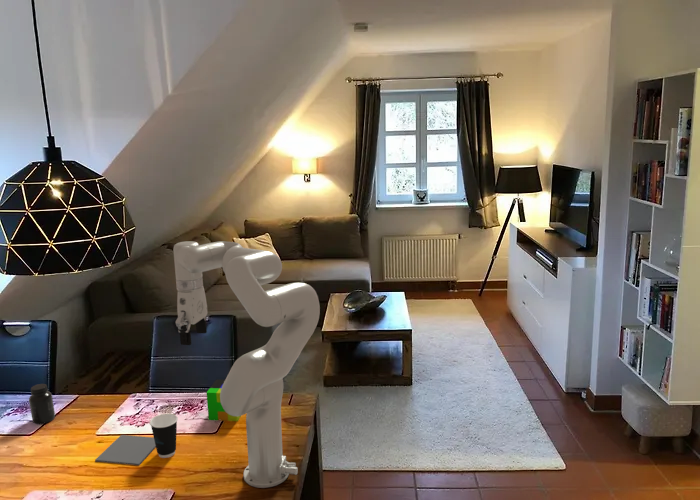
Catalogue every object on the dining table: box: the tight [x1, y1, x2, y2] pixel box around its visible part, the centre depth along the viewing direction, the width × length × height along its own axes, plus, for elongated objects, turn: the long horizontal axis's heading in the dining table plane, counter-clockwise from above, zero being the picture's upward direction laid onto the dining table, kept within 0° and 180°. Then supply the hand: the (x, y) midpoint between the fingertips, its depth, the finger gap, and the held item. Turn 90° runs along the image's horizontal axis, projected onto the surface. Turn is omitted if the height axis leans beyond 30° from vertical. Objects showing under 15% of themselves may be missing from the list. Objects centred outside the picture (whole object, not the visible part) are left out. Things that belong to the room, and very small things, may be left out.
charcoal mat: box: [95, 434, 156, 466], centre depth 176 cm, size 14×14×1 cm
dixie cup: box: [149, 413, 178, 459], centre depth 173 cm, size 8×8×11 cm
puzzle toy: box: [206, 378, 242, 422], centre depth 197 cm, size 10×10×10 cm
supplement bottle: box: [28, 383, 56, 425], centre depth 194 cm, size 7×7×12 cm
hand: (194, 338), depth 174 cm, fingers open, 9 cm apart
